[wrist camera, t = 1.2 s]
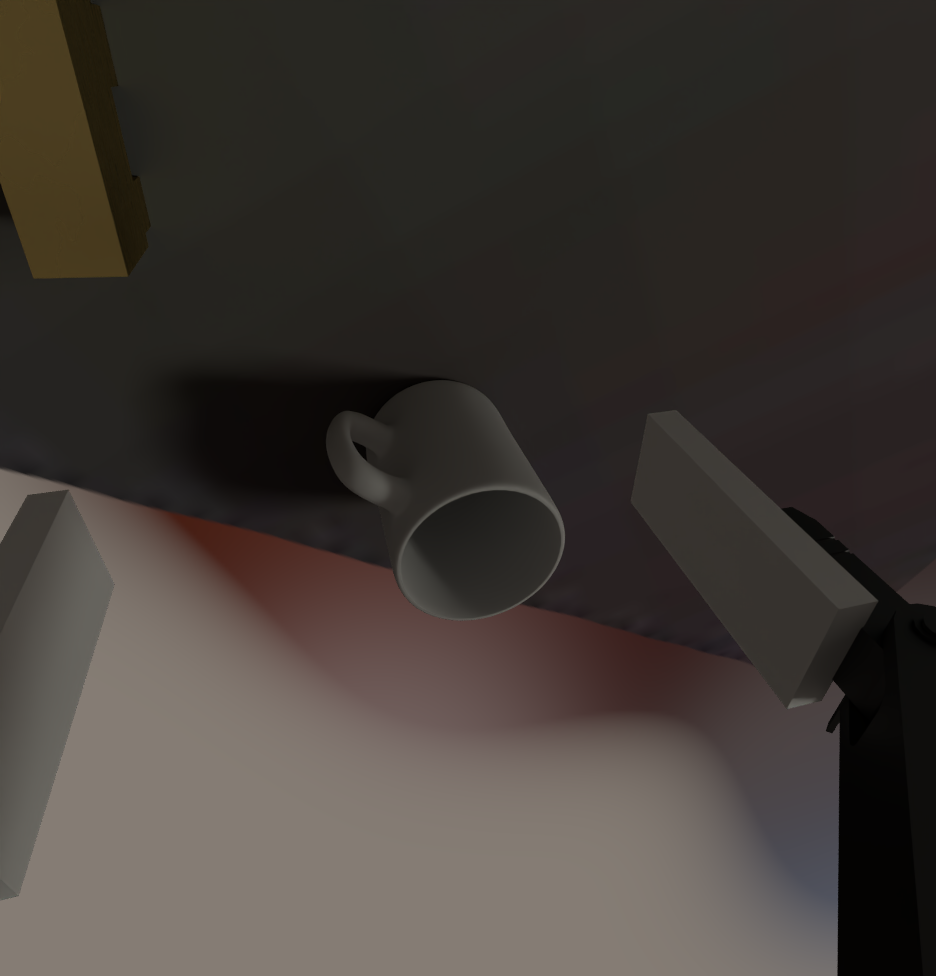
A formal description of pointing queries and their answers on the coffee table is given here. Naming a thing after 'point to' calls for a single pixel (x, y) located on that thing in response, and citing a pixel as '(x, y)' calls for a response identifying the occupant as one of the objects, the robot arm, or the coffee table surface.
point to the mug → (451, 499)
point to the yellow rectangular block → (66, 143)
